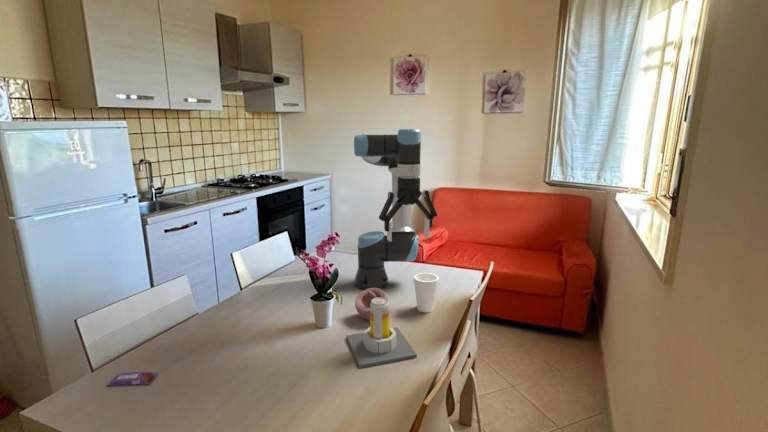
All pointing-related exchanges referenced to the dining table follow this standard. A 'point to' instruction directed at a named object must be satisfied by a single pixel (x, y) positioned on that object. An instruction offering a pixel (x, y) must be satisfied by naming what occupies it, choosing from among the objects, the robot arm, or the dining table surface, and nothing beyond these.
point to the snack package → (133, 378)
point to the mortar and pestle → (367, 301)
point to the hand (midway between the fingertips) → (408, 238)
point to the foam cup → (425, 291)
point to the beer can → (379, 318)
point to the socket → (380, 348)
